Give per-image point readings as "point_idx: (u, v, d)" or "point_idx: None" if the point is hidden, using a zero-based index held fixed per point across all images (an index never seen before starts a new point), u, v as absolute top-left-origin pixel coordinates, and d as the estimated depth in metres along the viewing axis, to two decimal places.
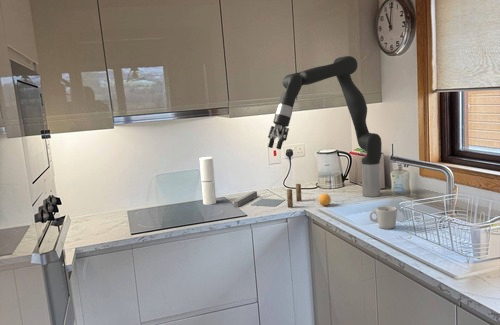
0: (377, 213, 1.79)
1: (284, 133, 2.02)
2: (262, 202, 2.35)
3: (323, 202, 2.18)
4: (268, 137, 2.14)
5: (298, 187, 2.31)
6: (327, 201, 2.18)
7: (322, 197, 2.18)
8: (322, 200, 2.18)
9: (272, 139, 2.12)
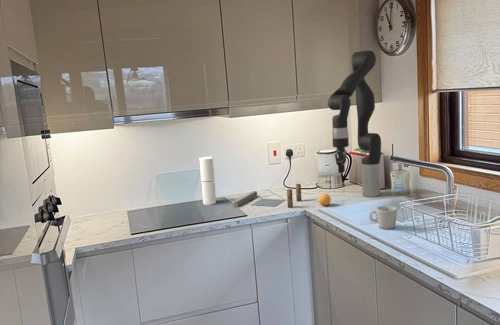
0: (377, 213, 1.79)
1: (337, 160, 2.09)
2: (262, 202, 2.35)
3: (323, 202, 2.18)
4: None
5: (298, 187, 2.31)
6: (327, 201, 2.18)
7: (322, 197, 2.18)
8: (322, 200, 2.18)
9: None
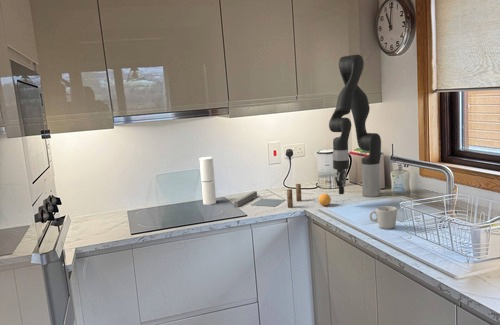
0: (377, 213, 1.79)
1: (337, 182, 2.11)
2: (262, 202, 2.35)
3: (323, 202, 2.18)
4: None
5: (298, 187, 2.31)
6: (327, 201, 2.18)
7: (322, 197, 2.18)
8: (322, 200, 2.18)
9: None
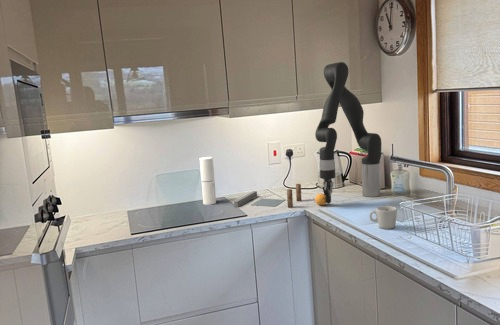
0: (377, 213, 1.79)
1: (324, 191, 2.14)
2: (262, 202, 2.35)
3: (320, 202, 2.19)
4: None
5: (298, 187, 2.31)
6: (323, 199, 2.18)
7: (317, 197, 2.19)
8: (318, 200, 2.19)
9: None
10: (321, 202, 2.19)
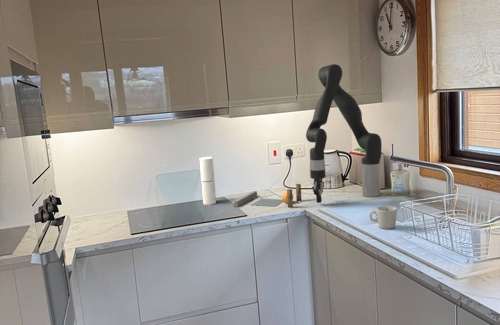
0: (377, 213, 1.79)
1: (314, 191, 2.17)
2: (262, 202, 2.35)
3: (285, 200, 2.28)
4: None
5: (298, 187, 2.31)
6: None
7: (284, 195, 2.29)
8: (284, 198, 2.28)
9: None
10: (286, 200, 2.28)
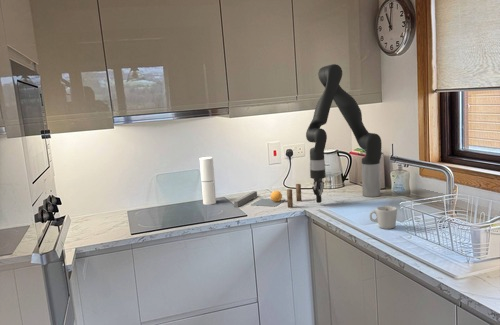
0: (377, 213, 1.79)
1: (314, 191, 2.17)
2: (262, 202, 2.35)
3: (274, 196, 2.32)
4: None
5: (298, 187, 2.31)
6: (272, 193, 2.33)
7: (272, 199, 2.33)
8: (273, 198, 2.32)
9: None
10: (274, 194, 2.32)
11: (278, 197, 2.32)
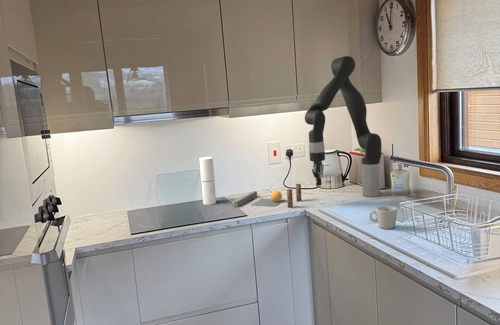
0: (377, 213, 1.79)
1: (314, 174, 2.16)
2: (262, 202, 2.35)
3: (274, 196, 2.32)
4: None
5: (298, 187, 2.31)
6: (272, 193, 2.33)
7: (272, 199, 2.33)
8: (273, 198, 2.32)
9: None
10: (274, 194, 2.32)
11: (278, 197, 2.32)
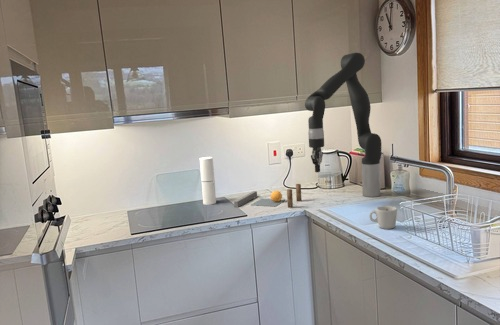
0: (377, 213, 1.79)
1: (313, 160, 2.15)
2: (262, 202, 2.35)
3: (274, 196, 2.32)
4: None
5: (298, 187, 2.31)
6: (272, 193, 2.33)
7: (272, 199, 2.33)
8: (273, 198, 2.32)
9: None
10: (274, 194, 2.32)
11: (278, 197, 2.32)
